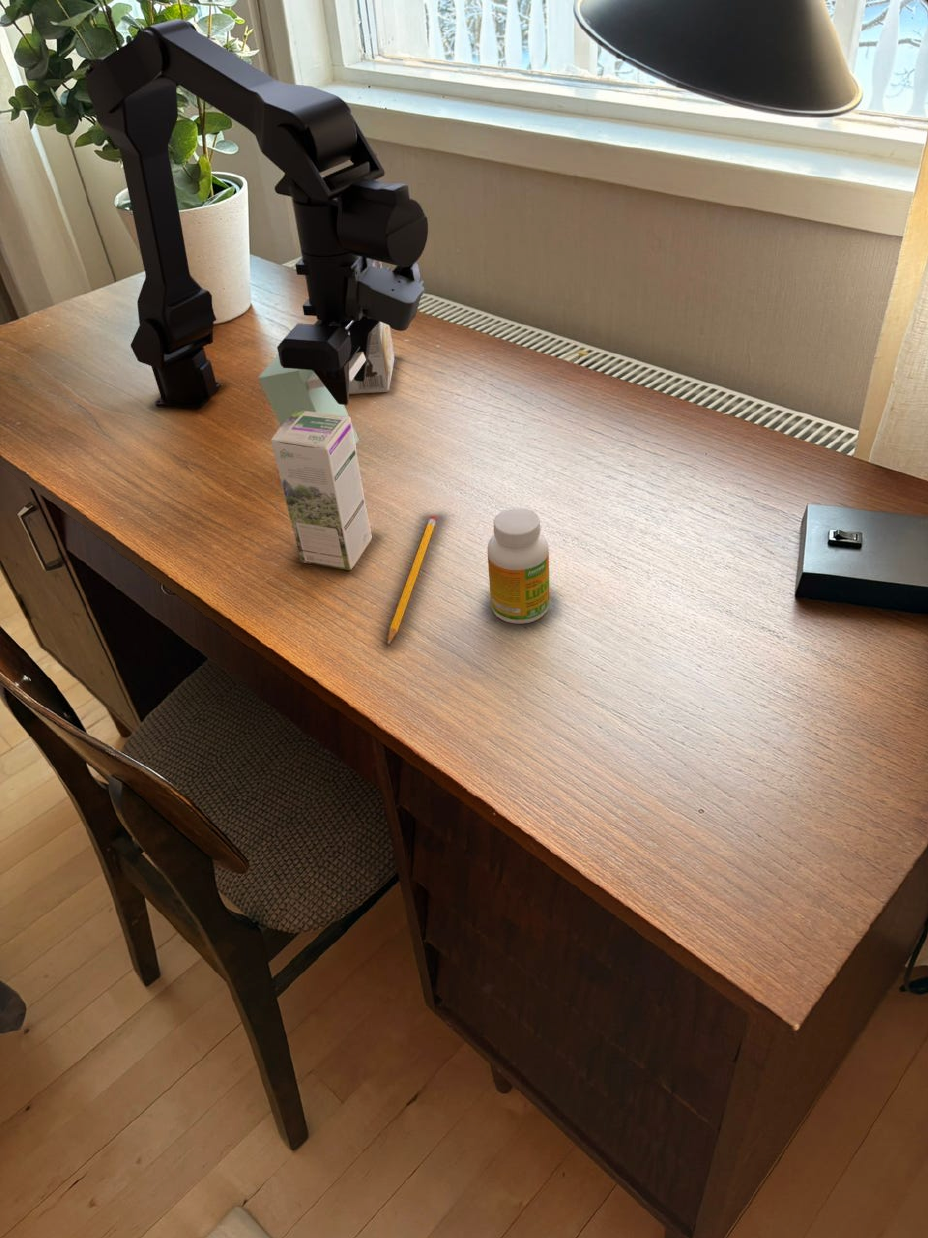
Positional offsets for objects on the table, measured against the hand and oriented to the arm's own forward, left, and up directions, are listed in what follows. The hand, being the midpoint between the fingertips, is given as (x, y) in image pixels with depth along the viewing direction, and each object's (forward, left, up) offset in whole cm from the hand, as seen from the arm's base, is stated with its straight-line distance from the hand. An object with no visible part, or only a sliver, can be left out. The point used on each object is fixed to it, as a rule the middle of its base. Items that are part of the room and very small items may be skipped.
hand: (351, 392), depth 101 cm
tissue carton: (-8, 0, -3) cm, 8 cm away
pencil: (+12, -19, -9) cm, 24 cm away
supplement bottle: (+23, -21, -9) cm, 32 cm away
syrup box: (+3, -16, -9) cm, 19 cm away
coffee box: (-6, +20, -9) cm, 23 cm away
